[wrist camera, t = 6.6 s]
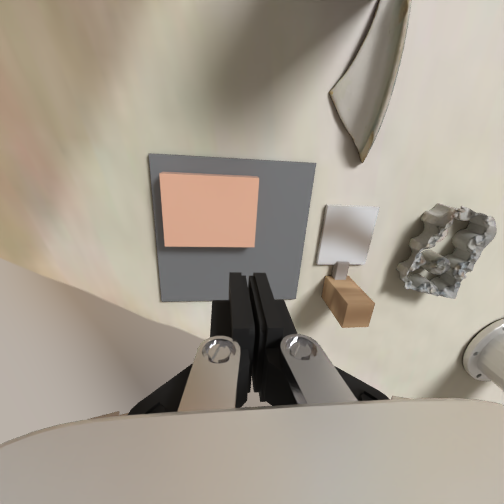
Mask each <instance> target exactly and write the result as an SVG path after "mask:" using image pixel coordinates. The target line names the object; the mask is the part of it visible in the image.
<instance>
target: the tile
mask: <svg viewBox="0 0 504 504" xmlns="http://www.w3.org/2000/svg"><path fill="white" fill-rule="evenodd" d="M159 176H160V189H161V203H162V216H163V229H164V243H165V247H255V232H256V218H257V204H258V190H259V177H258V176H243V175H222V174H202V173H181V172H161V173H159Z"/></svg>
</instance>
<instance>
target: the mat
mask: <svg viewBox="0 0 504 504" xmlns="http://www.w3.org/2000/svg"><path fill="white" fill-rule="evenodd" d="M149 163H150V175H151V186H152V197H153V209H154V220H155V231H156V243H157V254H158V265H159V277H160V288H161V300H162V302H166V301H212V300H229V273H230V272H241V274H242V275H243V276H246V279H247V285H248V282H249V276H253V273H266V275H267V278H268V281H269V284H270V287H271V290H272V293H273V296H274V299H296V294H297V287H298V280H299V274H300V267H301V260H302V254H303V247H304V240H305V234H306V227H307V220H308V214H309V207H310V201H311V194H312V187H313V181H314V174H315V167H316V163H306V162H289V161H272V160H254V159H237V158H219V157H202V156H185V155H167V154H149ZM161 172H181V173H202V174H222V175H243V176H258V177H259V190H258V204H257V218H256V232H255V247H165V243H164V229H163V216H162V203H161V189H160V176H159V173H161Z"/></svg>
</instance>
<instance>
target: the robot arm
mask: <svg viewBox="0 0 504 504" xmlns="http://www.w3.org/2000/svg"><path fill="white" fill-rule="evenodd" d="M463 366H464V368H465V370H466V371H467V372H468V373H469V374H470V375H471V376H472V377H473V378H475V379H477V380H480V381H492V382H494V383H495V384H496V385H497V386H498V387H499V388H500V389H502V390H503V391H504V318H503V319H501V320H498V321H496V322H494V323H492V324H491V325H489V326H488V327H486V328H485V329H483V330H482V331H481V332H480V333H478V334H477V336H476V337H475V338H474V339H473V340H472V341H471V342H470V344H469V345H468V347H467V349H466V351H465V353H464V356H463ZM251 376H252V381H253V389H254V392H259V396H260V402H265V401H267V402H268V403H269V404H271V405H272V406H262V407H245V408H241V407H242V406H243V404H244V403H245V402H246V401H247V393H249V392H250V388H251ZM0 504H504V405H502V404H499V403H495V402H489V401H483V400H477V399H463V398H418V399H409V398H403V397H396V396H392V398H391V399H389V398H388V397H387V396H386V395H384V394H383V393H381V392H380V391H378V390H377V389H375V388H373V387H371V386H370V385H368V384H366V383H364V382H362V381H361V380H359V379H357V378H355V377H353V376H352V375H350V374H348V373H346V372H344V371H343V370H341V369H339V368H337V367H335V366H334V365H333V364H332V362H331V361H330V360H329V358H328V357H327V355H326V354H325V352H324V351H323V349H322V348H321V346H320V345H319V344H318V343H317V342H316V341H315V340H314V339H312V338H311V337H308V336H306V335H301V334H297V332H296V329H295V327H294V324H293V322H292V319H291V317H290V314H289V312H288V309H287V307H286V304H285V302H284V300H275V299H274V296H273V293H272V290H271V287H270V284H269V281H268V278H267V275H266V273H253V276H249V282H248V285H247V279H246V276H243V275H242V274H241V272H230V273H229V300H212V315H211V332H210V338H208V339H206V340H204V341H203V342H202V343H201V344H200V346H199V348H198V350H197V353H196V356H195V359H194V362H193V364H191V365H190V366H188V367H187V368H186V369H184V370H183V371H182V372H180V373H179V374H177V375H176V376H175V377H173V378H172V379H171V380H169V381H168V382H166V383H165V384H164V385H162V386H161V387H160V388H158V389H157V390H155V391H154V392H153V393H151V394H150V395H149V396H148V397H146V398H144V399H143V400H142V401H140V402H139V403H138V404H137V405H136V406H134V407H133V408H132V409H131V410H130V412H129V413H126V414H122V415H120V412H119V411H118V412H114V413H110V414H106V415H102V416H99V417H94V418H91V419H87V420H80V421H75V422H70V423H64V424H59V425H56V426H52V427H48V428H44V429H41V430H38V431H34V432H31V433H28V434H26V435H23V436H20V437H17V438H15V439H12V440H9V441H7V442H4V443H2V444H0Z"/></svg>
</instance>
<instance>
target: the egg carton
mask: <svg viewBox="0 0 504 504" xmlns="http://www.w3.org/2000/svg"><path fill="white" fill-rule="evenodd" d="M453 219H457V220H460V221H466V220H469V222H470V223H469V225H468V227H467V228H466V229H462V230H459V231H458V232H457V233H456V234H455V235H454V236H453V239H452V244H453V245H454V246H455V247H456V248H455V250H454V251H453V253H452V254H449V255H446V256H444V257H443V256H441V255H439V254H437V253H435V252H434V251H432V250H425V251H423V252H422V253H420V252H421V251H422V250H424V249H428V248H432V247H434V246H435V242H439V241H441V240H443V239H444V238H445V237H446V236H447V233H448V229H447V228H449V227H450V226H451V225H452V224H453ZM421 220H422V221H423V222H424V230H423V232H422V233H421V234H420V235H419V236H417V237H414V238H411V240H410V243H409V247H410V248H411V249H412V254H411V256H410V258H409V259H408V260H406V261H404V262H400V263H399V264H398V266H397V269H396V270H397V271H399V272H400V279H401V280H402V281H404V282H405V286H404V288H406V289H408V288H409V289H413V290H416V291H418V292H425V293H428V294H433V295H436V296H439V295H440V296H443V297H447V298H453V299H455V298H456V295H457V292H458V289H459V287H460V282H461V281H462V280H463V279H465V278H466V275H465V274H466V273H467V272H470V271H473V267H474V264H475V262H476V261H477V259H478V258H479V257H480V255H481V252H482V250H483V249H484V248H485V247H486V246H487V245H488V244H489V243H490V242H491V241H492V240H493V239H494V237H495V235H496V223H495V219H494V218H493V217H492V216H487V215H485V214H482V213H476V212H474V211H472V210H471V209H468V208H465V207H462V206H461V209H459V208H453V207H450V206H446V205H443V204H440V203H437V204H436V206H435V207H434V208H433V209H431V210H429V211H425V212H424V213H423V215H422V218H421ZM420 266H421V267H422V268H424V269H425V270H427V271H428V272H430V273H432V274H435V275H440V274H441V275H440V276H439V277H435V278H433V279H431V280H430V281H429V280H428V279H426V278H425V277H423V276H422V275H420V274H417V273H416V274H412V275H410V276H409V277H407V276H408V273H409V272H410V271H411V272H413V271H414V270H415V269H418V268H419V267H420Z"/></svg>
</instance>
